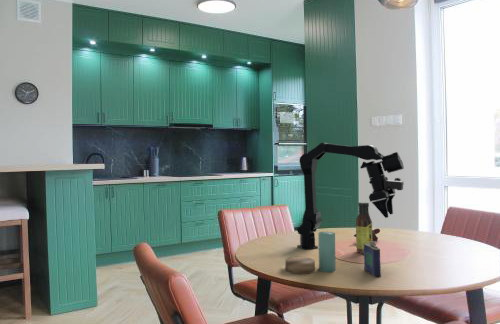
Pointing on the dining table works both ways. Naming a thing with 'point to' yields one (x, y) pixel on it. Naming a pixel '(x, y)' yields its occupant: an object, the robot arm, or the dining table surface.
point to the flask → (372, 259)
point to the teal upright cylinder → (327, 251)
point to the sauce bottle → (363, 227)
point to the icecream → (374, 234)
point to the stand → (300, 265)
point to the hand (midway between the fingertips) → (389, 215)
